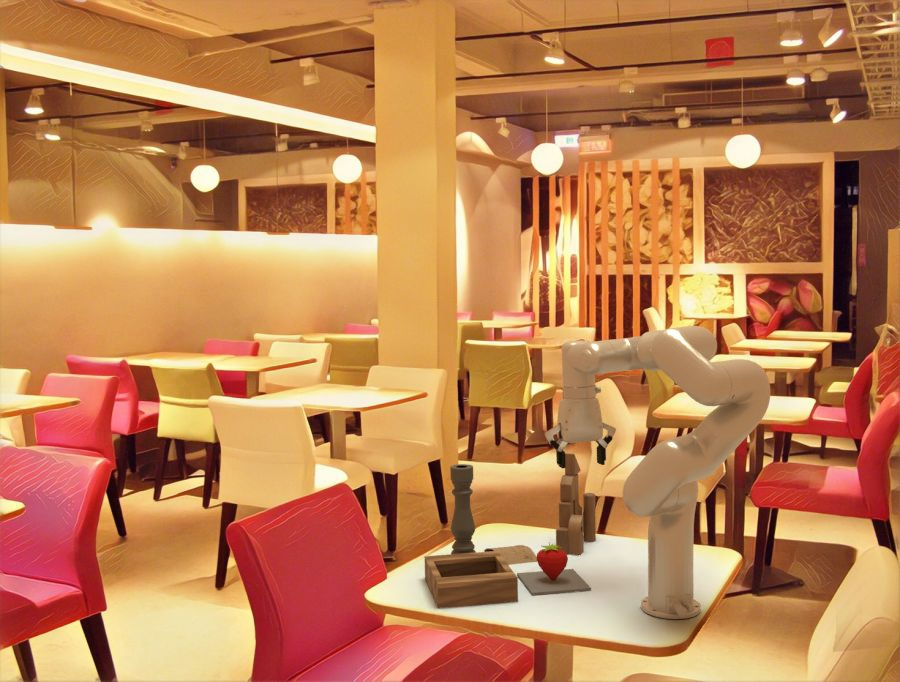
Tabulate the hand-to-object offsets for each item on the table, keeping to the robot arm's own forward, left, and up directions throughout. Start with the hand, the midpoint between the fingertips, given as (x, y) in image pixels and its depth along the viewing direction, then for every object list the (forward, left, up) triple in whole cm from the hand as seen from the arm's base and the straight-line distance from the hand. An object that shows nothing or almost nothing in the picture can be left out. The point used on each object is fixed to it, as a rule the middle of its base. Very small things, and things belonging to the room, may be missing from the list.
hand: (581, 465), depth 226 cm
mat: (-1, +8, -27) cm, 28 cm away
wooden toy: (+25, -6, -28) cm, 38 cm away
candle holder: (+17, +26, -28) cm, 41 cm away
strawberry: (-1, +8, -27) cm, 28 cm away
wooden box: (-1, +28, -27) cm, 39 cm away
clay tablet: (+21, +13, -28) cm, 37 cm away
